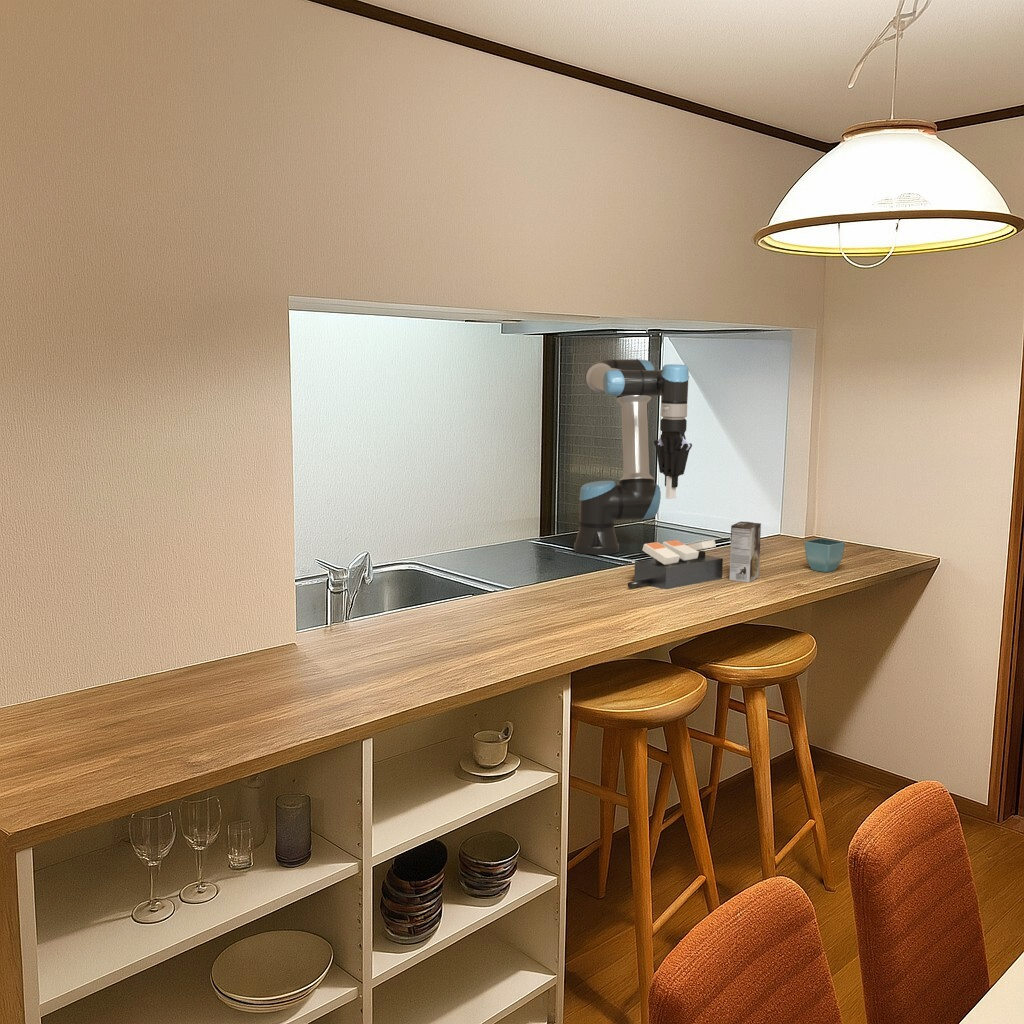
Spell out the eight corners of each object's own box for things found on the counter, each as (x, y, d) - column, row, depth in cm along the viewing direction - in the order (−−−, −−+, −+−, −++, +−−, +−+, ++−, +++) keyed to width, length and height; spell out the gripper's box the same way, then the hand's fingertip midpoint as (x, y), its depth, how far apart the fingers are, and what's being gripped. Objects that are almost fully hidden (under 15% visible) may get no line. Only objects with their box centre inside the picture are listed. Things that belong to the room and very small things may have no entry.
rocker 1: (642, 550, 276) (644, 543, 275) (655, 548, 280) (657, 541, 279) (664, 564, 270) (666, 557, 269) (678, 562, 274) (680, 555, 273)
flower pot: (827, 574, 290) (829, 545, 289) (802, 570, 297) (803, 541, 296) (844, 571, 296) (845, 541, 294) (818, 566, 302) (820, 538, 301)
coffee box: (738, 574, 289) (740, 521, 287) (759, 577, 286) (761, 522, 284) (728, 580, 281) (730, 524, 279) (750, 582, 278) (752, 526, 276)
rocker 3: (680, 553, 287) (678, 546, 287) (693, 551, 290) (691, 544, 290) (703, 548, 280) (701, 541, 280) (715, 546, 283) (714, 539, 283)
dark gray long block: (614, 585, 273) (614, 559, 272) (690, 572, 293) (691, 547, 292) (645, 593, 264) (646, 566, 263) (722, 578, 284) (723, 553, 283)
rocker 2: (661, 548, 281) (663, 541, 281) (674, 546, 285) (676, 539, 284) (684, 560, 275) (685, 553, 274) (697, 558, 278) (699, 551, 278)
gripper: (648, 417, 287) (645, 496, 291) (682, 420, 277) (678, 502, 281) (665, 416, 291) (662, 494, 295) (699, 419, 281) (696, 499, 285)
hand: (670, 498), depth 288 cm, fingers closed
